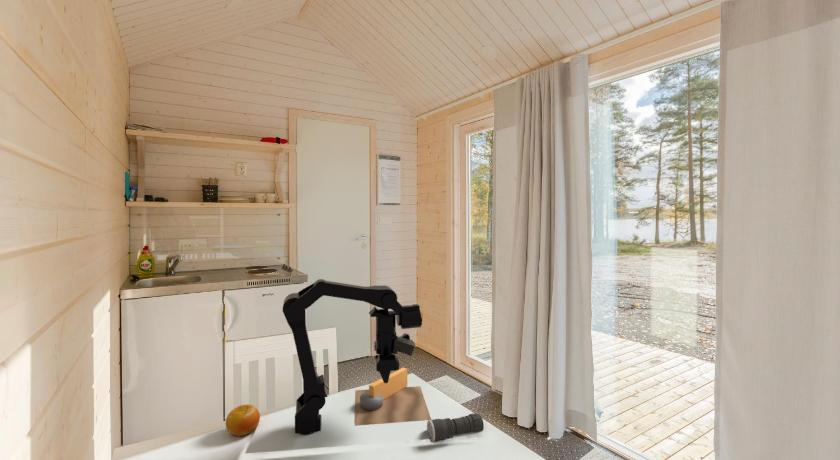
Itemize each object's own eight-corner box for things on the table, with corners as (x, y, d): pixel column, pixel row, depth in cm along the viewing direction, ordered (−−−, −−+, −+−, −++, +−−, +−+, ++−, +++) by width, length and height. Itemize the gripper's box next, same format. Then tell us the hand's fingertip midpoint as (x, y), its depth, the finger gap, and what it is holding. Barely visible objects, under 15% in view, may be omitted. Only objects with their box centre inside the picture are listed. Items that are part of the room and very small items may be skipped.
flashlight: (476, 426, 117) (476, 408, 117) (485, 436, 112) (485, 417, 111) (426, 435, 112) (426, 416, 112) (433, 446, 107) (433, 426, 107)
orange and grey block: (372, 412, 121) (372, 393, 120) (355, 405, 125) (355, 386, 124) (413, 387, 137) (413, 370, 137) (397, 382, 141) (397, 365, 141)
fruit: (216, 419, 113) (232, 397, 112) (243, 418, 120) (258, 397, 119) (225, 445, 108) (242, 421, 107) (253, 442, 114) (269, 419, 114)
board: (354, 430, 114) (354, 425, 114) (355, 394, 136) (355, 389, 136) (431, 424, 117) (431, 419, 117) (420, 390, 139) (420, 385, 139)
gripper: (417, 339, 109) (417, 395, 110) (409, 320, 127) (409, 368, 128) (376, 341, 107) (376, 398, 108) (374, 321, 125) (374, 370, 126)
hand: (385, 382), depth 118 cm, fingers closed
